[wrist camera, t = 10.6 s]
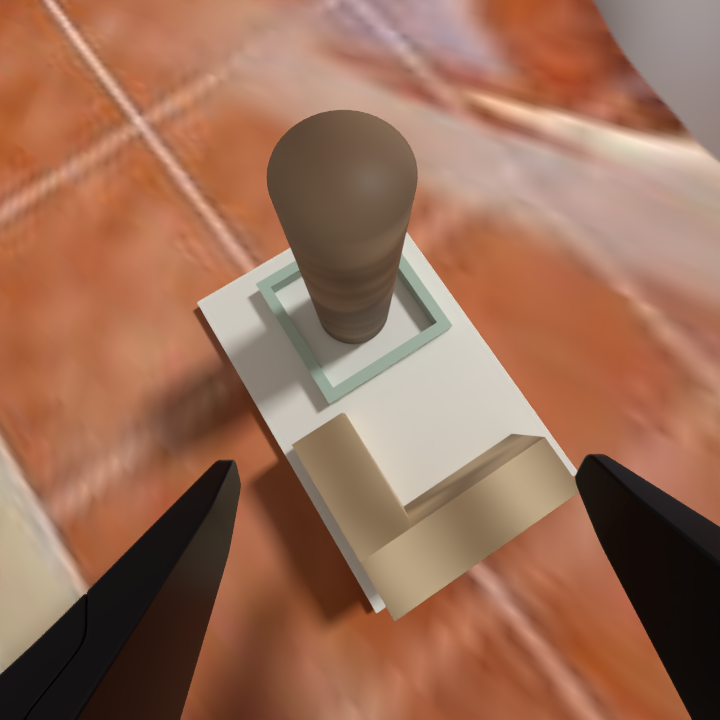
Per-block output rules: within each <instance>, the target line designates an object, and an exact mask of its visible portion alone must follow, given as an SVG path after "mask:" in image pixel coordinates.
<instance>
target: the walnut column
mask: <svg viewBox="0 0 720 720" xmlns="http://www.w3.org/2000/svg"><path fill="white" fill-rule="evenodd" d="M267 186H268V191H269V195H270V198H271V200H272V203H273V205H274V208H275V210H276V213H277V215H278V218H279V220H280V223H281V225H282V228H283V230H284V233H285V235H286V238H287V240H288V243H289V245H290V248H291V250H292V253H293V255H294V258H295V260H296V263H297V265H298V268H299V270H300V273H301V275H302V278H303V280H304V283H305V285H306V288H307V290H308V293H309V295H310V298H311V300H312V303H313V305H314V308H315V310H316V313H317V315H318V318H319V320H320V323H321V325H322V327H323V328H324V330H325V331H326V332H327V333H328V334H329V335H330V336H331V337H332V338H334V339H336V340H337V341H340V342H343V343H347V344H359V343H363V342H366V341H369V340H371V339H372V338H374V337H375V336H376V335H378V334H379V333H380V331H381V330H382V329H383V327H384V326H385V323H386V321H387V317H388V313H389V309H390V304H391V300H392V295H393V291H394V286H395V281H396V277H397V272H398V268H399V263H400V259H401V254H402V250H403V245H404V241H405V236H406V232H407V227H408V223H409V218H410V214H411V209H412V205H413V200H414V196H415V191H416V186H417V165H416V160H415V157H414V154H413V152H412V150H411V147H410V145H409V144H408V142H407V141H406V140H405V138H404V137H403V136H402V135H401V134H400V132H399V131H397V130H396V129H395V128H394V127H393V126H392V125H390V124H389V123H387V122H386V121H384V120H382V119H380V118H378V117H376V116H373V115H370V114H368V113H363V112H359V111H352V110H335V111H328V112H323V113H319V114H316V115H313V116H311V117H309V118H307V119H304V120H303V121H301V122H299V123H298V124H296V125H295V126H294V127H292V128H291V129H290V130H289V131H288V132H287V133H286V134H285V135H284V136H283V137H282V138H281V139H280V141H279V142H278V143H277V145H276V147H275V148H274V150H273V152H272V155H271V157H270V160H269V164H268V168H267Z"/></svg>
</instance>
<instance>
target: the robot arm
mask: <svg viewBox="0 0 720 720" xmlns="http://www.w3.org/2000/svg"><path fill="white" fill-rule="evenodd" d="M575 482H576V486H577V488H578V491H579V493H580V495H581V498H582V500H583V503H584V505H585V508H586V510H587V513H588V515H589V518H590V520H591V522H592V525H593V527H594V530H595V532H596V535H597V537H598V539H599V541H600V544H601V546H602V548H603V550H604V552H605V554H606V556H607V557H608V559H609V561H610V563H611V565H612V567H613V569H614V571H615V573H616V575H617V577H618V579H619V581H620V582H621V584H622V586H623V588H624V590H625V592H626V594H627V596H628V598H629V600H630V602H631V604H632V605H633V607H634V609H635V611H636V613H637V615H638V617H639V619H640V621H641V623H642V625H643V627H644V629H645V630H646V632H647V634H648V636H649V638H650V640H651V642H652V644H653V646H654V648H655V650H656V652H657V654H658V655H659V657H660V659H661V661H662V663H663V665H664V667H665V669H666V671H667V673H668V675H669V677H670V679H671V680H672V682H673V684H674V686H675V688H676V690H677V692H678V694H679V696H680V698H681V700H682V702H683V703H684V705H685V707H686V709H687V711H688V713H689V715H690V717H691V719H692V720H720V527H719V526H718V525H716V524H715V523H713V522H711V521H710V520H708V519H707V518H705V517H703V516H702V515H700V514H699V513H697V512H695V511H694V510H692V509H691V508H689V507H688V506H686V505H684V504H683V503H681V502H680V501H678V500H676V499H675V498H673V497H672V496H670V495H668V494H667V493H665V492H664V491H662V490H661V489H659V488H657V487H656V486H654V485H653V484H651V483H649V482H648V481H646V480H645V479H643V478H642V477H640V476H638V475H637V474H635V473H634V472H632V471H630V470H629V469H627V468H626V467H624V466H622V465H621V464H619V463H618V462H616V461H615V460H613V459H611V458H610V457H608V456H606V455H603V454H589V455H587V456H585V458H584V460H583V461H582V463H581V465H580V467H579V469H578V471H577V473H576V476H575ZM240 488H241V483H240V478H239V474H238V469H237V465H236V462H235V461H234V460H218V461H216V462H215V463H214V464H213V465H212V466H211V467H210V468H209V469H208V470H207V471H206V472H205V473H204V474H203V475H202V476H201V477H200V478H199V479H198V480H197V481H196V482H195V483H194V484H193V485H192V486H191V487H190V488H189V489H188V490H187V491H186V492H185V493H184V494H183V495H182V496H181V497H180V498H179V499H178V500H177V501H176V502H175V503H174V504H173V505H172V506H171V507H170V508H169V509H168V510H167V511H166V512H165V513H164V514H163V515H162V516H161V517H160V518H159V519H158V520H157V521H156V522H155V523H154V524H153V525H152V526H151V527H150V528H149V529H148V530H147V531H146V532H145V533H144V534H143V535H142V536H141V537H140V538H139V539H138V540H137V541H136V543H135V544H134V545H133V546H132V547H131V548H130V549H129V550H128V551H127V552H126V553H125V554H124V555H123V556H122V557H121V558H120V559H119V560H118V561H117V562H116V563H115V564H114V565H113V566H112V567H111V568H110V569H109V570H108V571H107V572H106V573H105V574H104V575H103V576H102V577H101V578H100V579H99V580H98V581H97V582H96V583H95V584H94V585H93V586H92V587H91V588H90V589H89V590H88V592H87V594H84V595H83V596H82V597H81V598H80V599H79V600H78V601H77V602H76V603H75V604H74V605H73V606H72V607H71V608H70V609H69V610H68V611H67V612H66V613H65V614H64V615H63V616H62V617H61V618H60V619H59V620H58V621H57V622H56V623H55V624H54V625H53V626H52V627H51V628H49V629H48V630H47V631H46V632H45V633H44V634H43V635H42V636H41V637H40V638H39V639H38V640H37V641H36V642H35V643H34V644H33V645H32V646H31V647H30V648H29V649H28V650H26V651H25V652H24V653H23V654H22V655H21V656H20V657H19V658H18V659H17V660H16V661H14V662H13V663H12V664H11V665H10V666H9V667H8V668H7V669H6V670H5V671H4V672H2V673H1V674H0V720H180V718H181V715H182V712H183V708H184V705H185V701H186V698H187V695H188V691H189V688H190V684H191V681H192V677H193V674H194V671H195V667H196V664H197V660H198V657H199V654H200V650H201V647H202V643H203V640H204V637H205V633H206V630H207V626H208V623H209V620H210V616H211V613H212V609H213V606H214V602H215V599H216V596H217V592H218V589H219V585H220V582H221V579H222V575H223V572H224V568H225V565H226V561H227V558H228V554H229V549H230V544H231V539H232V534H233V528H234V523H235V517H236V511H237V506H238V500H239V495H240Z"/></svg>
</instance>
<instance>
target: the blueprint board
mask: <svg viewBox="0 0 720 720" xmlns="http://www.w3.org/2000/svg"><path fill="white" fill-rule="evenodd" d="M197 304H198V305H199V307H200V309H201V310H202V312H203V314H204V316H205V317H206V319H207V321H208V323H209V324H210V326H211V328H212V330H213V331H214V333H215V335H216V336H217V338H218V340H219V342H220V343H221V345H222V347H223V349H224V350H225V352H226V354H227V356H228V357H229V359H230V361H231V362H232V364H233V366H234V368H235V369H236V371H237V373H238V375H239V376H240V378H241V380H242V381H243V383H244V385H245V387H246V388H247V390H248V392H249V394H250V395H251V397H252V399H253V401H254V402H255V404H256V406H257V407H258V409H259V411H260V413H261V414H262V416H263V418H264V420H265V421H266V423H267V425H268V427H269V428H270V430H271V432H272V433H273V435H274V437H275V439H276V440H277V442H278V444H279V446H280V447H281V449H282V451H283V453H284V454H285V456H286V458H287V459H288V461H289V463H290V465H291V466H292V468H293V470H294V472H295V473H296V475H297V477H298V479H299V480H300V482H301V484H302V485H303V487H304V489H305V491H306V492H307V494H308V496H309V498H310V499H311V501H312V503H313V505H314V506H315V508H316V510H317V511H318V513H319V515H320V517H321V518H322V520H323V522H324V524H325V525H326V527H327V529H328V531H329V532H330V534H331V536H332V537H333V539H334V541H335V543H336V544H337V546H338V548H339V550H340V551H341V553H342V555H343V557H344V558H345V560H346V562H347V563H348V565H349V567H350V569H351V570H352V572H353V574H354V576H355V577H356V579H357V581H358V583H359V584H360V586H361V588H362V589H363V591H364V593H365V595H366V596H367V598H368V600H369V602H370V603H371V605H372V607H373V609H374V610H375V612H376V613H378V612H379V611H381V610H382V609H384V608H385V607H386V606H385V604H384V602H383V601H382V599H381V597H380V595H379V594H378V592H377V590H376V589H375V587H374V585H373V583H372V582H371V580H370V578H369V577H368V575H367V573H366V571H365V570H364V568H363V566H362V565H361V563H360V561H359V559H358V558H357V556H356V554H355V553H354V551H353V549H352V547H351V546H350V544H349V542H348V541H347V539H346V537H345V535H344V534H343V532H342V530H341V529H340V527H339V525H338V523H337V522H336V520H335V518H334V517H333V515H332V513H331V511H330V510H329V508H328V506H327V505H326V503H325V501H324V499H323V498H322V496H321V494H320V493H319V491H318V489H317V487H316V486H315V484H314V482H313V481H312V479H311V477H310V475H309V474H308V472H307V470H306V469H305V467H304V465H303V463H302V462H301V460H300V458H299V457H298V455H297V453H296V451H295V450H294V448H293V446H292V444H293V443H295V442H297V441H298V440H300V439H301V438H303V437H304V436H306V435H308V434H309V433H311V432H312V431H314V430H315V429H317V428H319V427H320V426H322V425H323V424H325V423H326V422H328V421H330V420H331V419H333V418H334V417H336V416H337V415H339V414H341V413H345V414H346V415H347V416H348V418H349V420H350V421H351V423H352V424H353V426H354V428H355V429H356V431H357V432H358V434H359V436H360V437H361V439H362V441H363V442H364V444H365V445H366V447H367V449H368V450H369V452H370V453H371V455H372V457H373V458H374V460H375V462H376V463H377V465H378V466H379V468H380V470H381V471H382V473H383V474H384V476H385V478H386V479H387V481H388V483H389V484H390V486H391V487H392V489H393V491H394V492H395V494H396V495H397V497H398V499H399V500H400V502H401V504H402V505H403V507H404V506H405V505H407V504H408V503H410V502H411V501H413V500H414V499H415V498H417V497H418V496H420V495H421V494H423V493H424V492H426V491H427V490H429V489H430V488H432V487H433V486H435V485H436V484H438V483H439V482H441V481H442V480H444V479H445V478H447V477H448V476H450V475H451V474H453V473H454V472H456V471H457V470H459V469H460V468H462V467H463V466H465V465H466V464H467V463H469V462H470V461H472V460H473V459H475V458H476V457H478V456H479V455H481V454H482V453H484V452H485V451H487V450H488V449H490V448H491V447H493V446H494V445H496V444H497V443H499V442H500V441H502V440H503V439H505V438H506V437H508V436H509V435H511V434H520V435H530V436H540V437H545V438H546V439H547V441H548V442H549V444H550V445H551V446H552V448H553V449H554V451H555V452H556V453H557V455H558V456H559V458H560V459H561V460H562V462H563V463H564V465H565V466H566V467H567V469H568V470H569V472H570V473H571V475H572V476H574V475H576V473H577V470H576V469H575V467H574V466H573V465H572V463H571V462H570V460H569V459H568V458H567V456H566V455H565V453H564V452H563V451H562V449H561V448H560V446H559V445H558V444H557V442H556V441H555V439H554V438H553V437H552V435H551V434H550V432H549V431H548V430H547V428H546V427H545V425H544V424H543V423H542V421H541V420H540V418H539V417H538V416H537V414H536V413H535V411H534V410H533V409H532V407H531V406H530V404H529V403H528V401H527V400H526V399H525V397H524V396H523V394H522V393H521V392H520V390H519V389H518V387H517V386H516V385H515V383H514V382H513V380H512V379H511V378H510V376H509V375H508V373H507V372H506V371H505V369H504V368H503V366H502V365H501V364H500V362H499V361H498V359H497V358H496V357H495V355H494V354H493V352H492V351H491V350H490V348H489V347H488V345H487V344H486V343H485V341H484V340H483V338H482V337H481V336H480V334H479V333H478V331H477V330H476V329H475V327H474V326H473V324H472V323H471V322H470V320H469V319H468V317H467V316H466V315H465V313H464V312H463V310H462V309H461V307H460V306H459V305H458V303H457V302H456V300H455V299H454V298H453V296H452V295H451V293H450V292H449V291H448V289H447V288H446V286H445V285H444V284H443V282H442V281H441V279H440V278H439V277H438V275H437V274H436V272H435V271H434V270H433V268H432V267H431V265H430V264H429V263H428V261H427V260H426V258H425V257H424V256H423V254H422V253H421V251H420V250H419V249H418V247H417V246H416V244H415V243H414V242H413V240H412V239H411V237H410V236H409V235H408V233H407V232H406V236H405V241H404V245H403V250H402V254H401V259H400V263H399V268H398V272H397V277H396V281H395V286H394V291H393V295H392V300H391V304H390V309H389V313H388V317H387V321H386V323H385V326H384V327H383V329H382V330H381V331H380V333H379V334H378V335H376V336H375V337H374V338H372V339H371V340H369V341H366V342H363V343H359V344H347V343H343V342H340V341H337V340H336V339H334V338H332V337H331V336H330V335H329V334H328V333H327V332H326V331H325V330H324V328H323V327H322V325H321V323H320V320H319V318H318V315H317V313H316V310H315V308H314V305H313V303H312V300H311V298H310V295H309V293H308V290H307V288H306V285H305V283H304V280H303V278H302V275H301V273H300V270H299V268H298V265H297V263H296V260H295V258H294V255H293V253H292V250H291V248H289V249H287V250H286V251H284V252H282V253H281V254H279V255H277V256H275V257H274V258H272V259H270V260H269V261H267V262H265V263H263V264H262V265H260V266H258V267H257V268H255V269H253V270H251V271H250V272H248V273H246V274H245V275H243V276H241V277H240V278H238V279H236V280H234V281H233V282H231V283H229V284H228V285H226V286H224V287H222V288H221V289H219V290H217V291H216V292H214V293H212V294H210V295H209V296H207V297H205V298H204V299H202V300H200V301H198V302H197Z"/></svg>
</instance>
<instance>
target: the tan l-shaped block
mask: <svg viewBox="0 0 720 720" xmlns="http://www.w3.org/2000/svg"><path fill="white" fill-rule="evenodd" d="M292 446H293V448H294V450H295V451H296V453H297V455H298V457H299V458H300V460H301V462H302V463H303V465H304V467H305V469H306V470H307V472H308V474H309V475H310V477H311V479H312V481H313V482H314V484H315V486H316V487H317V489H318V491H319V493H320V494H321V496H322V498H323V499H324V501H325V503H326V505H327V506H328V508H329V510H330V511H331V513H332V515H333V517H334V518H335V520H336V522H337V523H338V525H339V527H340V529H341V530H342V532H343V534H344V535H345V537H346V539H347V541H348V542H349V544H350V546H351V547H352V549H353V551H354V553H355V554H356V556H357V558H358V559H359V561H360V563H361V565H362V566H363V568H364V570H365V571H366V573H367V575H368V577H369V578H370V580H371V582H372V583H373V585H374V587H375V589H376V590H377V592H378V594H379V595H380V597H381V599H382V601H383V602H384V604H385V606H386V607H387V609H388V611H389V613H390V614H391V616H392V618H393V619H394V621H396V620H398V619H399V618H401V617H402V616H403V615H405V614H406V613H408V612H409V611H410V610H412V609H413V608H415V607H416V606H418V605H419V604H420V603H422V602H423V601H425V600H426V599H428V598H429V597H430V596H432V595H433V594H435V593H436V592H437V591H439V590H440V589H442V588H443V587H445V586H446V585H447V584H449V583H450V582H452V581H453V580H455V579H456V578H457V577H459V576H460V575H462V574H463V573H465V572H466V571H467V570H469V569H470V568H472V567H473V566H474V565H476V564H477V563H479V562H480V561H482V560H483V559H484V558H486V557H487V556H489V555H490V554H492V553H493V552H494V551H496V550H497V549H499V548H500V547H502V546H503V545H504V544H506V543H507V542H509V541H510V540H511V539H513V538H514V537H516V536H517V535H519V534H520V533H521V532H523V531H524V530H526V529H527V528H529V527H530V526H531V525H533V524H534V523H536V522H537V521H539V520H540V519H541V518H543V517H544V516H546V515H547V514H548V513H550V512H551V511H553V510H554V509H556V508H557V507H558V506H560V505H561V504H563V503H564V502H566V501H567V500H568V499H570V498H571V497H573V496H574V495H576V494H577V493H578V492H579V491H578V488H577V486H576V482H575V479H574V477H573V476H572V475H571V473H570V472H569V470H568V469H567V467H566V466H565V465H564V463H563V462H562V460H561V459H560V458H559V456H558V455H557V453H556V452H555V451H554V449H553V448H552V446H551V445H550V444H549V442H548V441H547V439H546V438H545V437H540V436H530V435H520V434H511V435H509V436H508V437H506V438H505V439H503V440H502V441H500V442H499V443H497V444H496V445H494V446H493V447H491V448H490V449H488V450H487V451H485V452H484V453H482V454H481V455H479V456H478V457H476V458H475V459H473V460H472V461H470V462H469V463H467V464H466V465H465V466H463V467H462V468H460V469H459V470H457V471H456V472H454V473H453V474H451V475H450V476H448V477H447V478H445V479H444V480H442V481H441V482H439V483H438V484H436V485H435V486H433V487H432V488H430V489H429V490H427V491H426V492H424V493H423V494H421V495H420V496H418V497H417V498H415V499H414V500H413V501H411V502H410V503H408V504H407V505H405V506H404V507H403V505H402V504H401V502H400V500H399V499H398V497H397V495H396V494H395V492H394V491H393V489H392V487H391V486H390V484H389V483H388V481H387V479H386V478H385V476H384V474H383V473H382V471H381V470H380V468H379V466H378V465H377V463H376V462H375V460H374V458H373V457H372V455H371V453H370V452H369V450H368V449H367V447H366V445H365V444H364V442H363V441H362V439H361V437H360V436H359V434H358V432H357V431H356V429H355V428H354V426H353V424H352V423H351V421H350V420H349V418H348V416H347V415H346V414H345V413H341V414H339V415H337V416H336V417H334V418H333V419H331V420H330V421H328V422H326V423H325V424H323V425H322V426H320V427H319V428H317V429H315V430H314V431H312V432H311V433H309V434H308V435H306V436H304V437H303V438H301V439H300V440H298V441H297V442H295V443H293V444H292Z"/></svg>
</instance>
